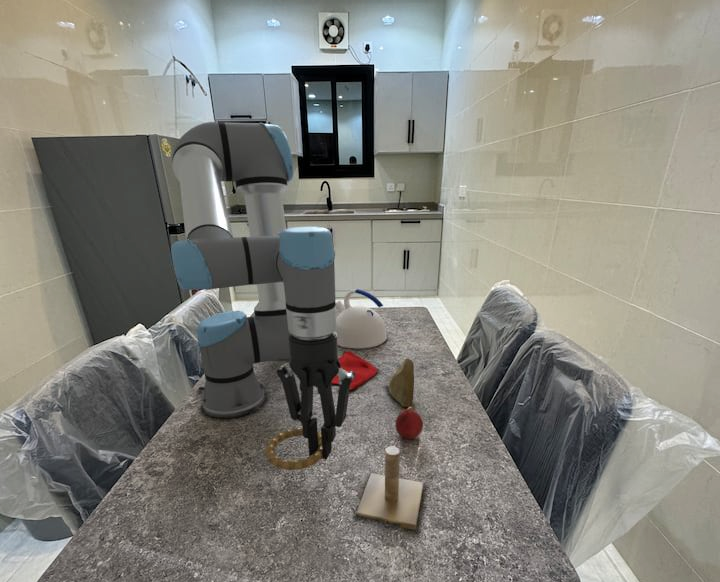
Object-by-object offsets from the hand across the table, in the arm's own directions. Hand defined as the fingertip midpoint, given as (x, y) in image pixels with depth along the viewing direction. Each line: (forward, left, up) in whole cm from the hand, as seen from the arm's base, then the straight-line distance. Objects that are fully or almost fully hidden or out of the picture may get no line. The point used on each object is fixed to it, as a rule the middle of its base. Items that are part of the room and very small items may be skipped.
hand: (320, 452), depth 69 cm
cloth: (-8, +47, -7) cm, 48 cm away
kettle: (-14, +73, -7) cm, 74 cm away
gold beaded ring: (-5, 0, 0) cm, 5 cm away
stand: (+13, -1, -7) cm, 15 cm away
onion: (+13, +18, -7) cm, 23 cm away
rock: (+8, +35, -7) cm, 36 cm away
